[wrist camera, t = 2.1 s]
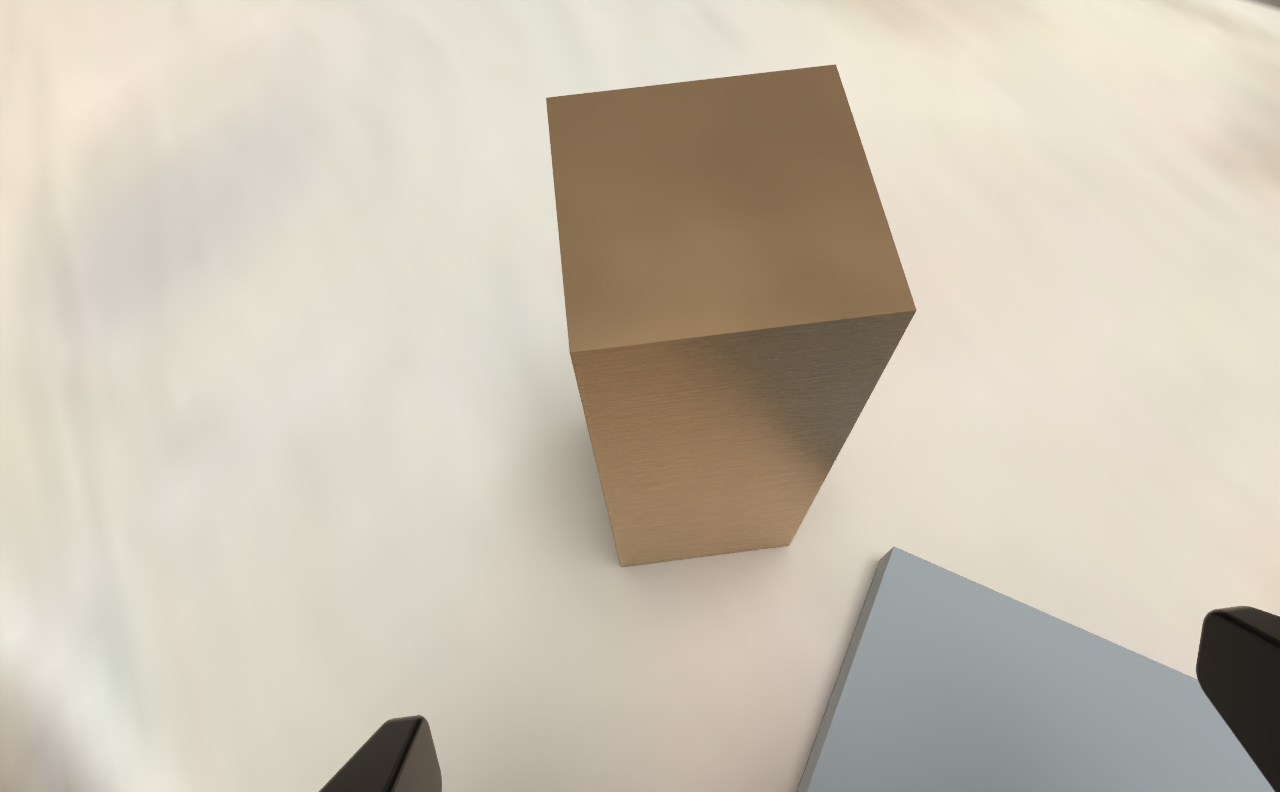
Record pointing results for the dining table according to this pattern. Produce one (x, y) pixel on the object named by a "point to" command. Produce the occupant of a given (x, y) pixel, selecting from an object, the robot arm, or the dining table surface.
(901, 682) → the mat
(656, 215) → the gold metal block
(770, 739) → the dining table surface
